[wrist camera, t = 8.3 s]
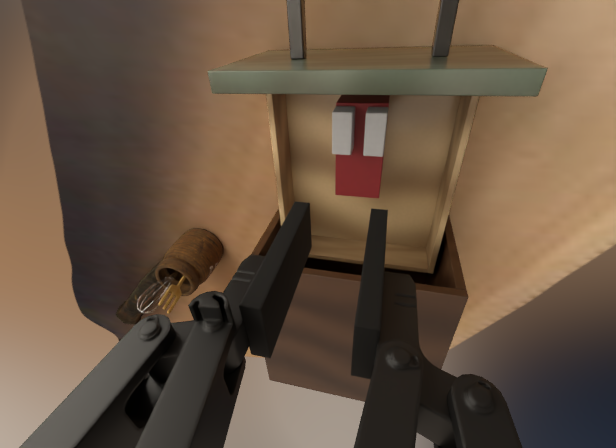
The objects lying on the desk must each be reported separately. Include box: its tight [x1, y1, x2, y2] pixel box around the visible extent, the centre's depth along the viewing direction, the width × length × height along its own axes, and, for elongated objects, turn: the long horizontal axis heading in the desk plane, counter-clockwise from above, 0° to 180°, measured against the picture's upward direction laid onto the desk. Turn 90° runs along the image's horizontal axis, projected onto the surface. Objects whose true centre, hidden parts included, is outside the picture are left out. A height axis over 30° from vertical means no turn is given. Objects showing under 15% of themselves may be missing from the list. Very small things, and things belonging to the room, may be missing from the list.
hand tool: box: [116, 260, 163, 324], centre depth 48 cm, size 19×4×5 cm, turn 138°
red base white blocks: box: [332, 95, 390, 198], centre depth 23 cm, size 7×3×6 cm, turn 3°
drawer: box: [208, 0, 548, 274], centre depth 23 cm, size 24×17×10 cm
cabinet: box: [252, 209, 468, 402], centre depth 33 cm, size 18×17×11 cm
